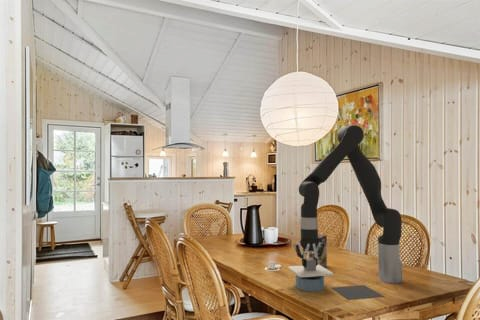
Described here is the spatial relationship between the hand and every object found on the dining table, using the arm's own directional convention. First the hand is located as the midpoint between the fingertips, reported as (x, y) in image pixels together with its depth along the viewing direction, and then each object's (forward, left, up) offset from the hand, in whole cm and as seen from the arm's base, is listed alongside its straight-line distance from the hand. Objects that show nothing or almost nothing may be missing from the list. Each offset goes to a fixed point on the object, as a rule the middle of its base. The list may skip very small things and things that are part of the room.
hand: (309, 266), depth 163 cm
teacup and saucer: (+5, -33, -10) cm, 34 cm away
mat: (-16, +11, -9) cm, 21 cm away
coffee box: (-18, -33, -9) cm, 39 cm away
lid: (0, 0, -2) cm, 2 cm away
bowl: (0, 0, -9) cm, 9 cm away
